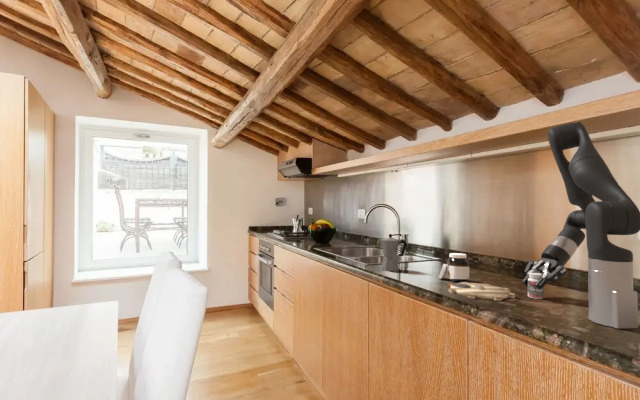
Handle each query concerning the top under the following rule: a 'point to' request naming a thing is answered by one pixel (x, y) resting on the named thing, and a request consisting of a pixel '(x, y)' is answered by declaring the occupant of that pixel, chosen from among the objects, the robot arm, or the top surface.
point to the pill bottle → (532, 289)
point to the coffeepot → (391, 253)
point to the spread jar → (456, 268)
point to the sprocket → (480, 291)
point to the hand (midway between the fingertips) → (531, 285)
